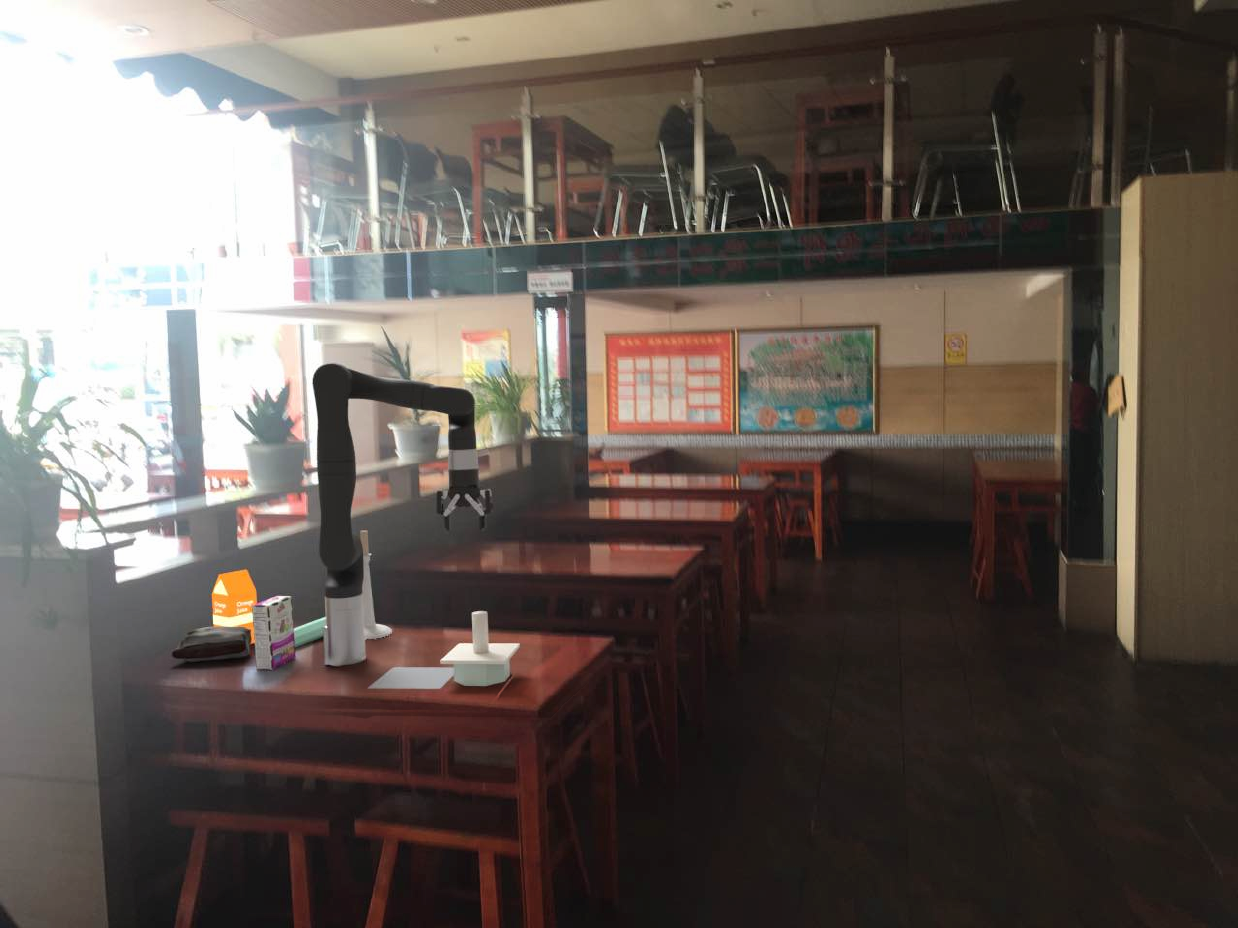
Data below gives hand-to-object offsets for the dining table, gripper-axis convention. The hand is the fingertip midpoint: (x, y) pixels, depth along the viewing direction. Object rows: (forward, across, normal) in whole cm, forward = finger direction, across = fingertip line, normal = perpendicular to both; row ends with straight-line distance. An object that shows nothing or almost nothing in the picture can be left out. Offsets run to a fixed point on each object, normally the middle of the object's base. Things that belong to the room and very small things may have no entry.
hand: (465, 530), depth 250 cm
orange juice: (+32, -69, +10) cm, 77 cm away
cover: (+26, +9, -23) cm, 36 cm away
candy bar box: (+32, -48, -10) cm, 59 cm away
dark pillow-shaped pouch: (+32, -66, -6) cm, 74 cm away
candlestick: (+32, -35, +20) cm, 52 cm away
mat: (+32, -7, -23) cm, 40 cm away
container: (+33, -50, +12) cm, 61 cm away
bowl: (+32, +9, -23) cm, 41 cm away
